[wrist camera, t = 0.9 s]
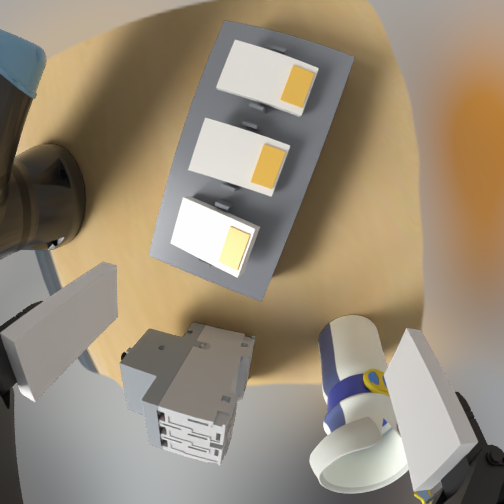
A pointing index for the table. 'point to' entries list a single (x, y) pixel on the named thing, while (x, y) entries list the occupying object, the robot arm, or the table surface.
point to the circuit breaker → (188, 388)
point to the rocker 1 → (267, 77)
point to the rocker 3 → (214, 235)
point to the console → (263, 123)
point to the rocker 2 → (238, 156)
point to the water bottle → (357, 412)
